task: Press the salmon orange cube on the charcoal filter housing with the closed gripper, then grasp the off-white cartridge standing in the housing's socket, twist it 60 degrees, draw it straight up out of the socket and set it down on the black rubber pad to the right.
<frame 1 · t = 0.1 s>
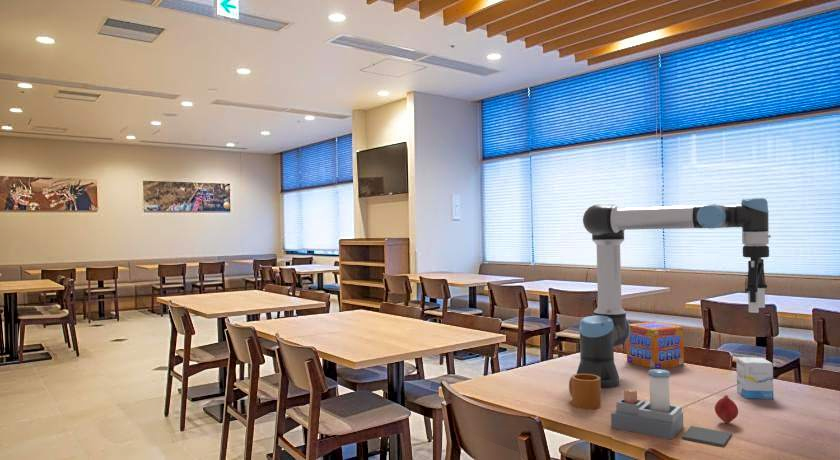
hand: (757, 310, 189), 28 cm above the table, fingers open, 13 cm apart
cartridge: (660, 415, 159), point 4 cm above the table, touching housing
game box: (655, 363, 237), on the table
onion: (726, 423, 164), on the table
pad: (706, 436, 153), on the table
salmon orange cube: (630, 397, 164), point 7 cm above the table, slide at 0.0 cm
mug: (583, 404, 184), on the table
ink box: (754, 395, 190), on the table
housing: (647, 427, 162), on the table
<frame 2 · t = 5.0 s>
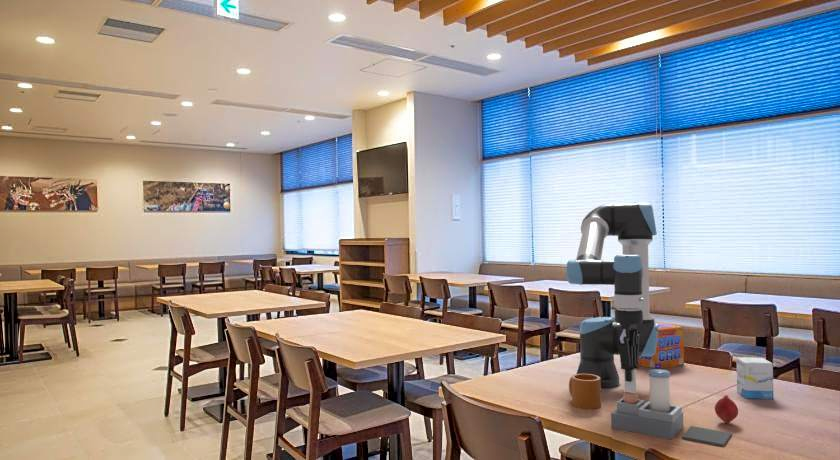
hand: (630, 391, 164), 9 cm above the table, fingers closed
salmon orange cube: (630, 399, 164), point 7 cm above the table, slide at 0.6 cm, touching gripper
everything else where it was.
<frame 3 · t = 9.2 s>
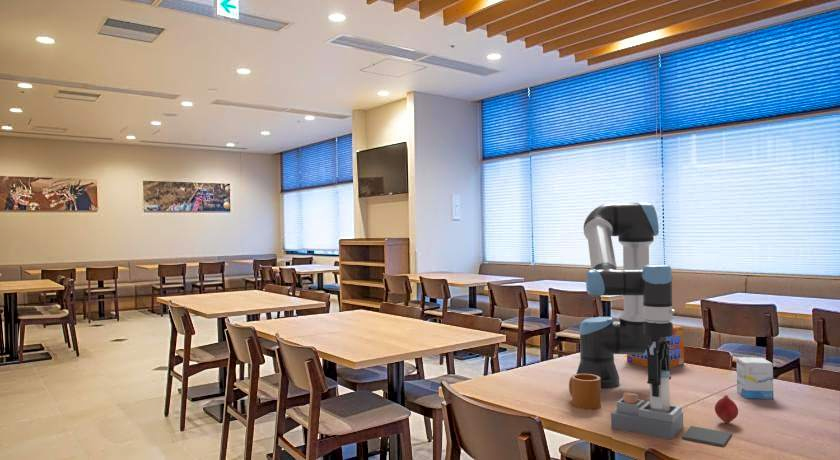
hand: (659, 405, 159), 7 cm above the table, fingers closed on cartridge, 5 cm apart
cartridge: (660, 415, 159), point 4 cm above the table, touching gripper, housing
salmon orange cube: (630, 401, 164), point 6 cm above the table, slide at 1.0 cm
everything else where it was.
when the fingers open (5 cm above the table, at t = 15.0 s): cartridge drops 1 cm, resting on pad.
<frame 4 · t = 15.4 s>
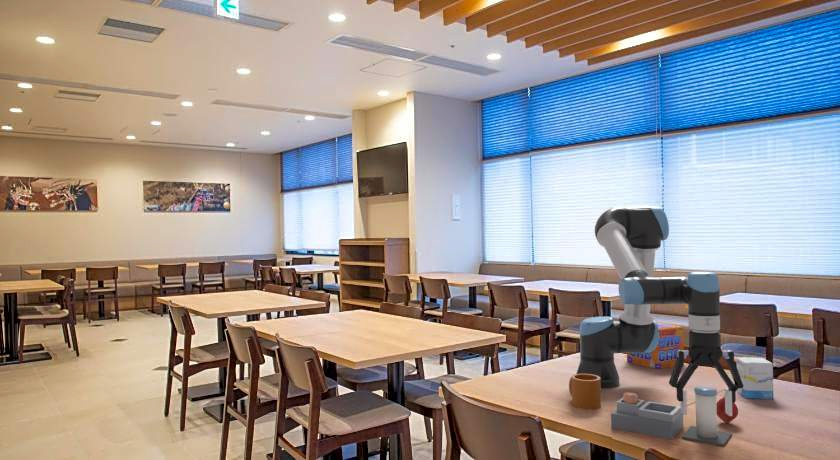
hand: (706, 414, 153), 6 cm above the table, fingers open, 10 cm apart
cartridge: (706, 434, 153), point 1 cm above the table, touching pad
everything else where it was.
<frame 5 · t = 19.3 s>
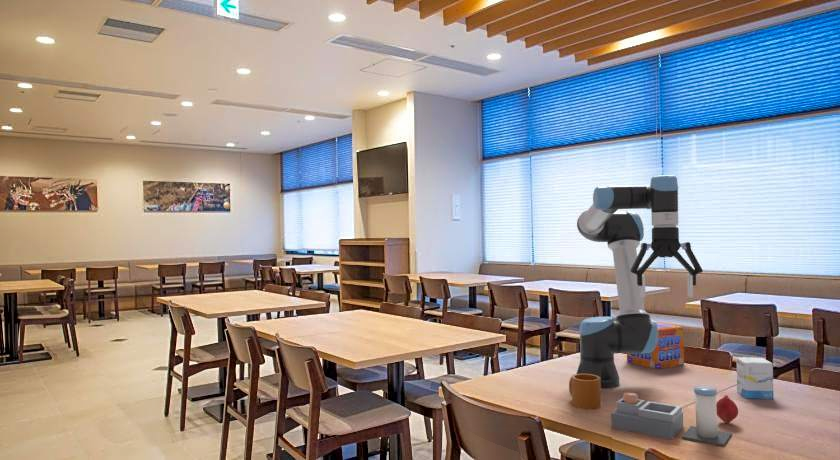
hand: (666, 296, 175), 35 cm above the table, fingers open, 13 cm apart
nothing on the table moved.
at the end: cartridge inside the target area on the pad (0.0 cm from its centre), point 0.6 cm above the pad's base; cartridge tilted 1°; salmon orange cube slide at 1.0 cm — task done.
